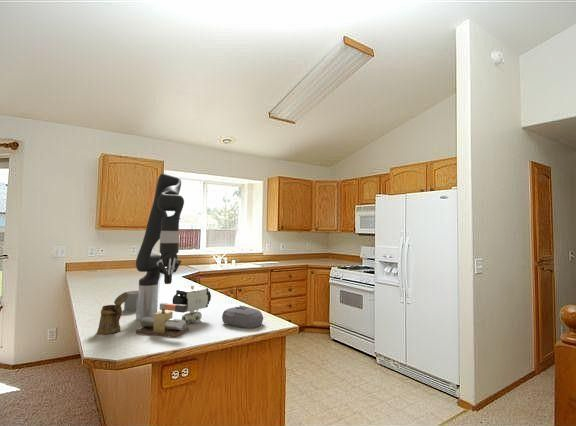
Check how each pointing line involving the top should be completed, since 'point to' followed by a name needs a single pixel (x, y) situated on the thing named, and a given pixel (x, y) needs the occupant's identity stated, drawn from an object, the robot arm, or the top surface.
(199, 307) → the ball valve
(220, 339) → the top surface
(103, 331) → the wooden mug
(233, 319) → the small grey backpack
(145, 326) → the stand
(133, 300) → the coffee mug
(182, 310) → the valve lever
